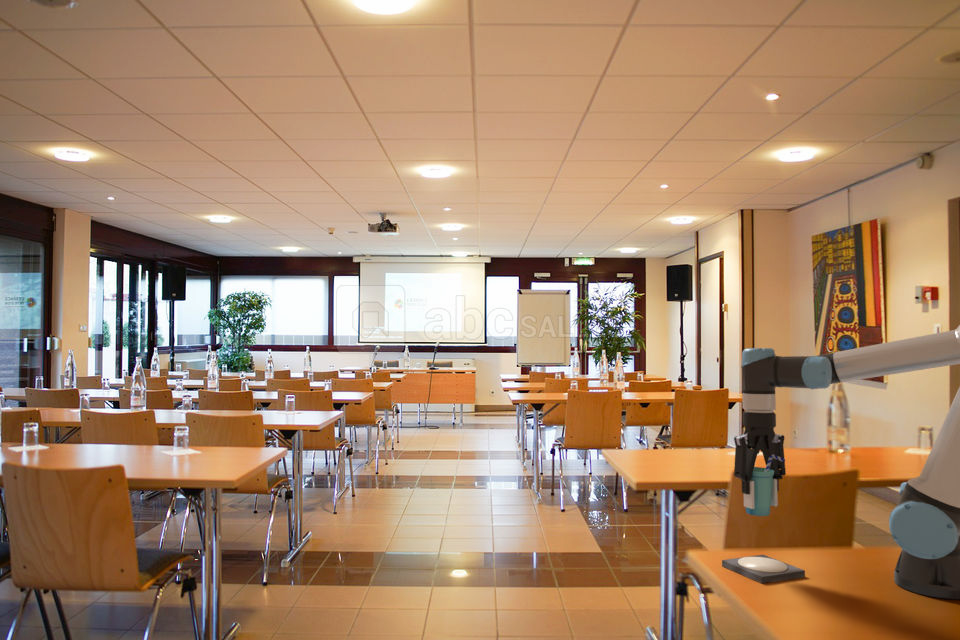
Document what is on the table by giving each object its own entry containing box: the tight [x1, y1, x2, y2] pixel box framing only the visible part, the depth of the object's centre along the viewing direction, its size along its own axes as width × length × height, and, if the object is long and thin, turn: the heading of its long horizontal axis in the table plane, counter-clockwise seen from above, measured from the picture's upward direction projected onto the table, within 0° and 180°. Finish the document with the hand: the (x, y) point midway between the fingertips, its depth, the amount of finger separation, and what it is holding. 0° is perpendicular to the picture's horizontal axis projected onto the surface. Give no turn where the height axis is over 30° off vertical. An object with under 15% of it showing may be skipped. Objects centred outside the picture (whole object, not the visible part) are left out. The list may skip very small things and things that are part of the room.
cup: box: [745, 454, 786, 517], centre depth 158 cm, size 14×8×15 cm, turn 26°
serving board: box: [721, 554, 806, 584], centre depth 157 cm, size 13×13×2 cm
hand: (760, 506), depth 158 cm, fingers closed on cup, 6 cm apart
